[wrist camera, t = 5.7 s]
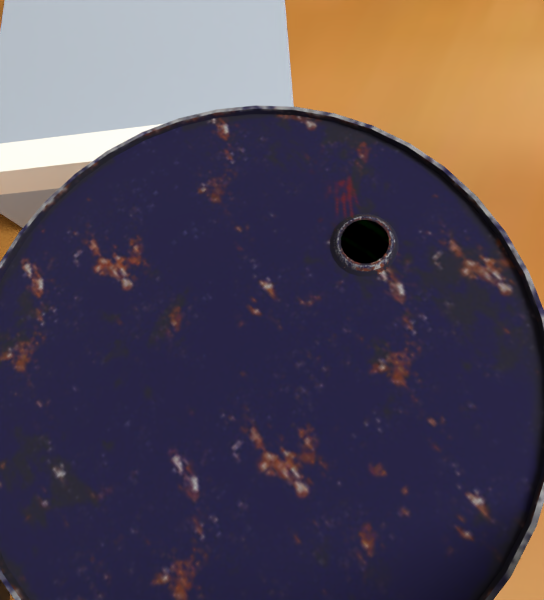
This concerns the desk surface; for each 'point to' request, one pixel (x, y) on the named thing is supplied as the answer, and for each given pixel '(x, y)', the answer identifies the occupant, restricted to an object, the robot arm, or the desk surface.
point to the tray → (122, 78)
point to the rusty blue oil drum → (267, 373)
